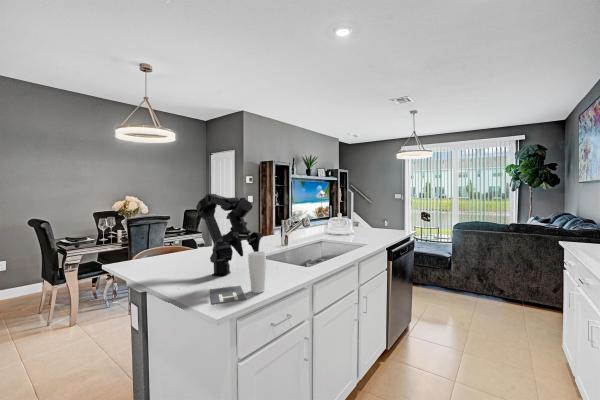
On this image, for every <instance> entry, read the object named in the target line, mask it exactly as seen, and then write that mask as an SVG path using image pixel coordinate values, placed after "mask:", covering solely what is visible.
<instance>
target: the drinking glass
mask: <svg viewBox="0 0 600 400" xmlns="http://www.w3.org/2000/svg"><path fill="white" fill-rule="evenodd" d="M247 257H248V270H249V280H250V292H251V293H254V294H261V293H263V292H265V290H266V288H265V287H266V286H265V285H266V273H267V272H266V270H267V269H266V268H267V253H266V252H264V251H259V252H254V251H251V252H249V253H248V255H247Z"/></svg>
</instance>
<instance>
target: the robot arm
mask: <svg viewBox="0 0 600 400" xmlns="http://www.w3.org/2000/svg"><path fill="white" fill-rule="evenodd" d="M217 206H219V207H220V208H221V210H223V211H225V212H227V211H228V213H227V215H226V220H229V223H230V225H231V227H230V229H229V230H230V231H228V232H227V233H226V234H223V233H222V232H221V230H220V227H219V225H218V223H217V220H216V216H215V213H216V209H217ZM195 208H196V212H197V213H198V216H199V217H200V218H202V219H203V220H204V222H205V225H206V227H207V230H208V232H209V235H210V239H211V240H212V243H213V246H212V249H211V250H212V253H211V254H210V258H209V259H210V262H211V263H212V264H213V273H212V274H211V275H212V276H217V277H224V276H226V275H229V274H230V273H232V272H231V269H230V267H231V265H230V262H229V261H232V259H233V253H234V252H233V249H234V250H235V252H237V254H238V255H239V256H240V257H244V250H243V244H242V243H243V242H242V240H246V241H247V243H248V245H249V246H251V248H252V250H253V251H252V252H260V251H259V250H260V242H261V240H262V238H263V234H262V233H261V232H259V231H254V232H252V233H251V230H250V229H248V227H247V225H248V222H247V221H245V219H244V218H245V217H246V216H247V215H248V214H249V212H251V211H252V210H253V204H252V203H251V202H250V201H249V200H248V199H246V197H240V198H238V197H225V196H222V195H219V194H216V193H207V194H205V196H204V197H203V198H202V199H200V200H199V201H198V202H197V204H196V207H195ZM229 211H230V212H229ZM232 248H233V249H232Z"/></svg>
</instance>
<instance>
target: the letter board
mask: <svg viewBox="0 0 600 400" xmlns="http://www.w3.org/2000/svg"><path fill="white" fill-rule="evenodd" d="M209 292H210V299H211V300H210V301H211V305H219V304H225V303H226V304H227V303H233V302H238V301H246V300H247V297H246V295H245V293H244V290H243V288H242V286H241V285H235V286H233V285H232V286H225V287H219V288H218V287H217V288H210V289H209Z"/></svg>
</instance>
